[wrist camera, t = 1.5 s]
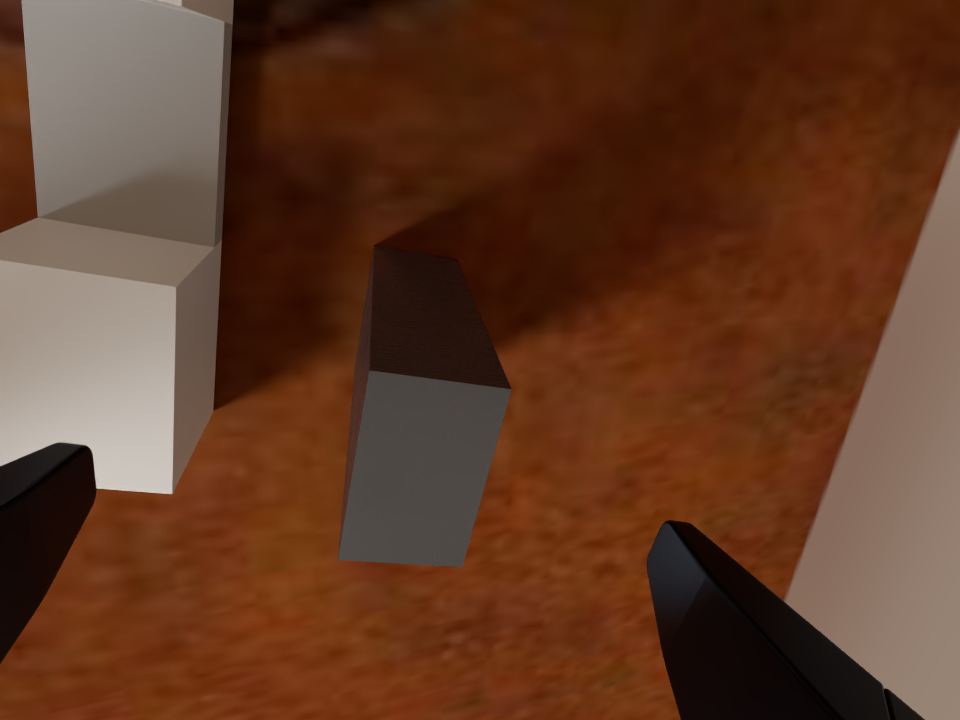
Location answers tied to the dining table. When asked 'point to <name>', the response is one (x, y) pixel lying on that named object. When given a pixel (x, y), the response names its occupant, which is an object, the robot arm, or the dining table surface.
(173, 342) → the white block dumbbell
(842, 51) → the dining table surface
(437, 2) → the dining table surface
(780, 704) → the robot arm
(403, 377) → the grey brushed metal block
